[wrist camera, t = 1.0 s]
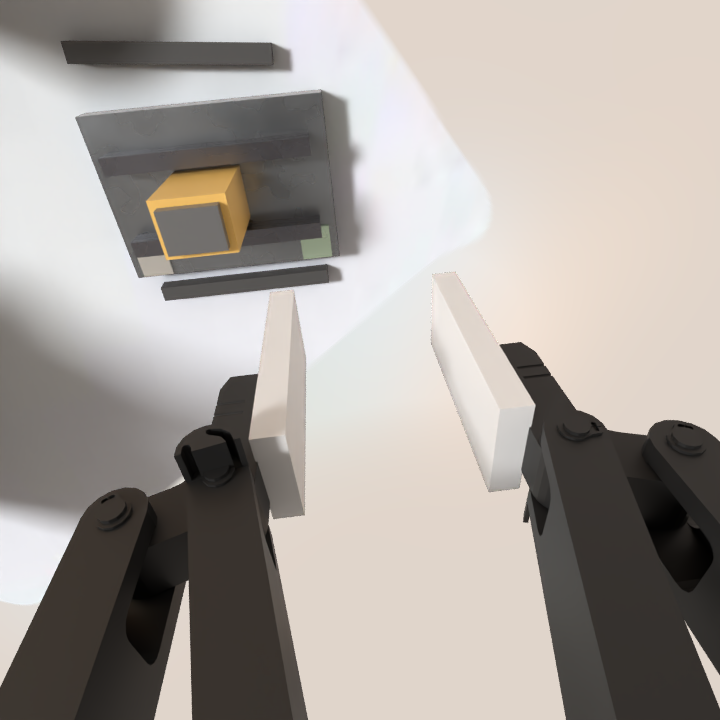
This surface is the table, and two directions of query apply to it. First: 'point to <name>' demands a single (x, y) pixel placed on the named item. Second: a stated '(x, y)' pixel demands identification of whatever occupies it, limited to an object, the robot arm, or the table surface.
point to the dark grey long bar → (245, 282)
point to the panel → (217, 149)
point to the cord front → (167, 53)
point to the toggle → (200, 212)
